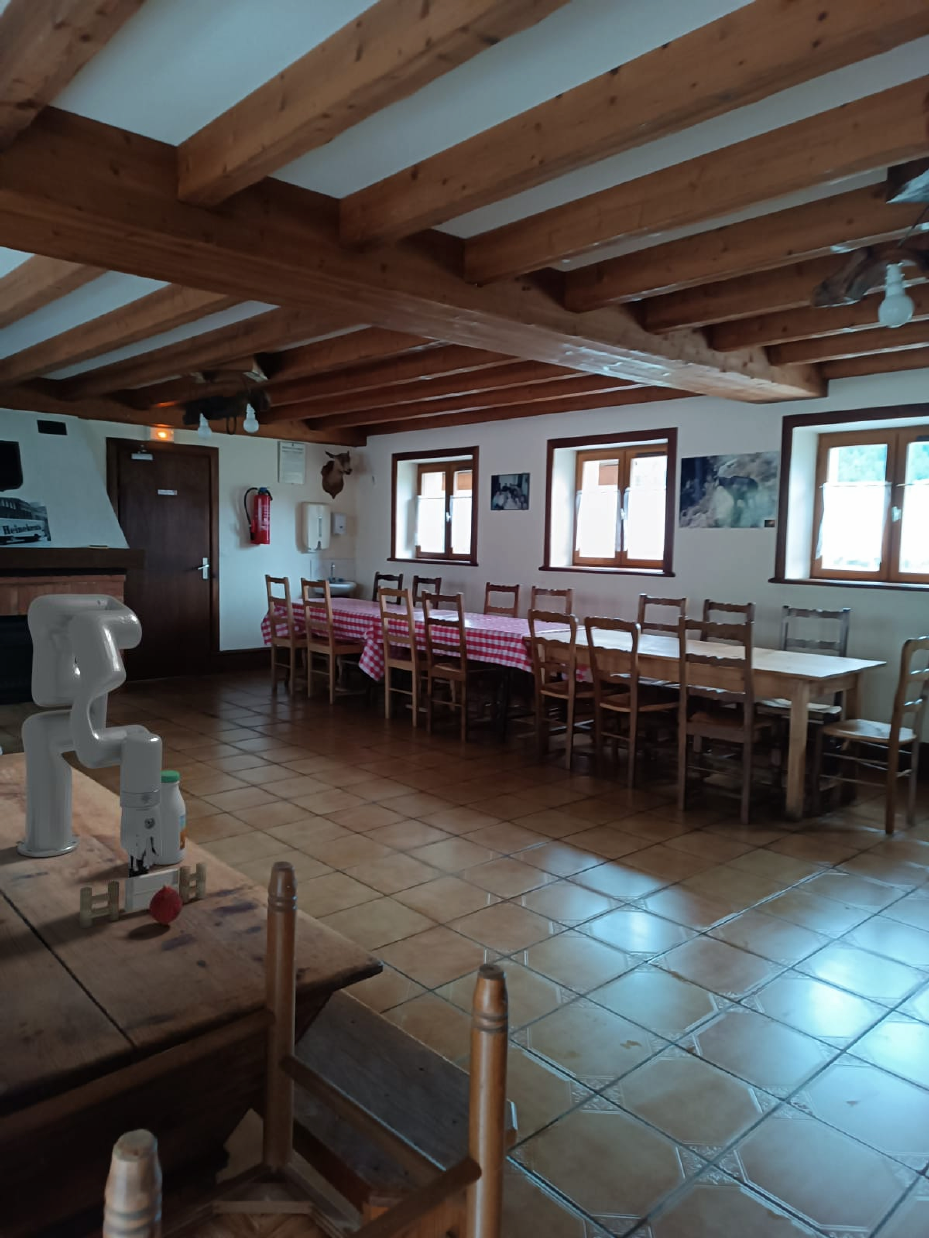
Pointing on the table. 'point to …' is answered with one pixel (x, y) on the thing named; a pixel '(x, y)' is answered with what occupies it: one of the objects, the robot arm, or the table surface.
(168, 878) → the gate
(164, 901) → the onion
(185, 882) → the fence
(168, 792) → the milk bottle
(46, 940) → the table surface
